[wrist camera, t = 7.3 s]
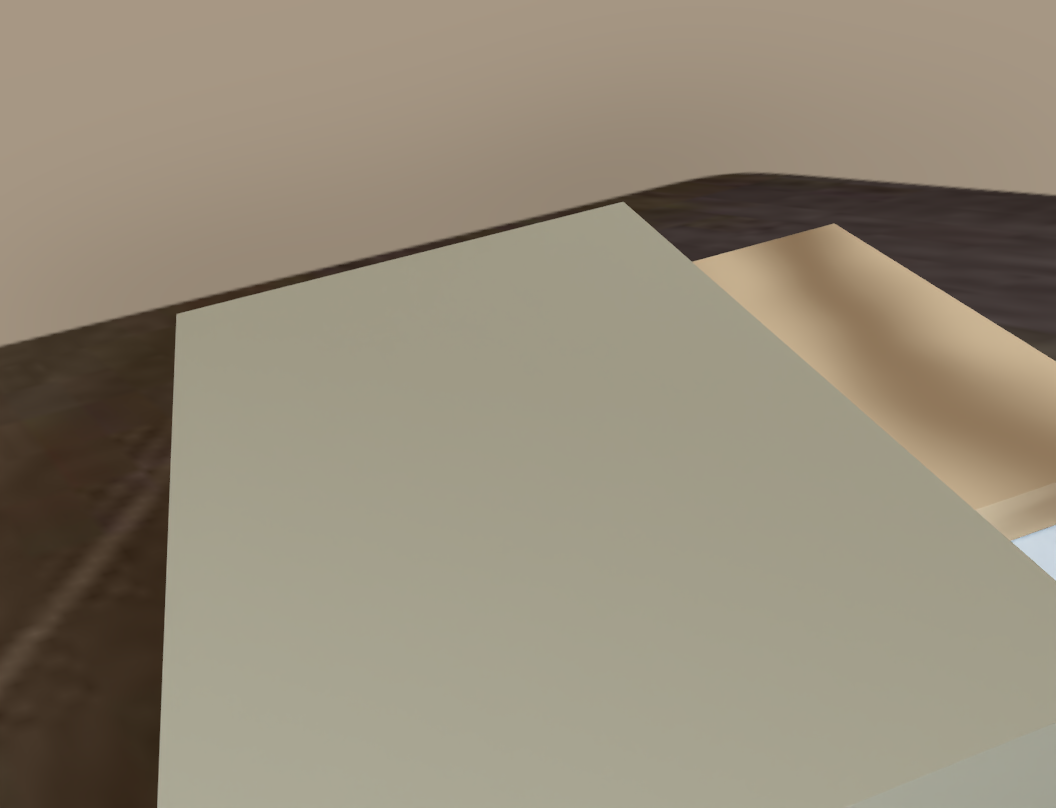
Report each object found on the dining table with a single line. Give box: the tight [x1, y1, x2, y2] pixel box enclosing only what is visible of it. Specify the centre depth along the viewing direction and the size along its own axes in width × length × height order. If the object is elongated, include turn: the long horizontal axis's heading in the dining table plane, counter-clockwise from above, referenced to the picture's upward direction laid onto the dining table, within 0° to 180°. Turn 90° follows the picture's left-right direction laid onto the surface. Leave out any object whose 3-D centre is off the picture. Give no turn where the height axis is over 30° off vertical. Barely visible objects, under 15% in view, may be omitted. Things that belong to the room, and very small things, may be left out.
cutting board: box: [693, 224, 1056, 541], centre depth 25 cm, size 18×14×2 cm
